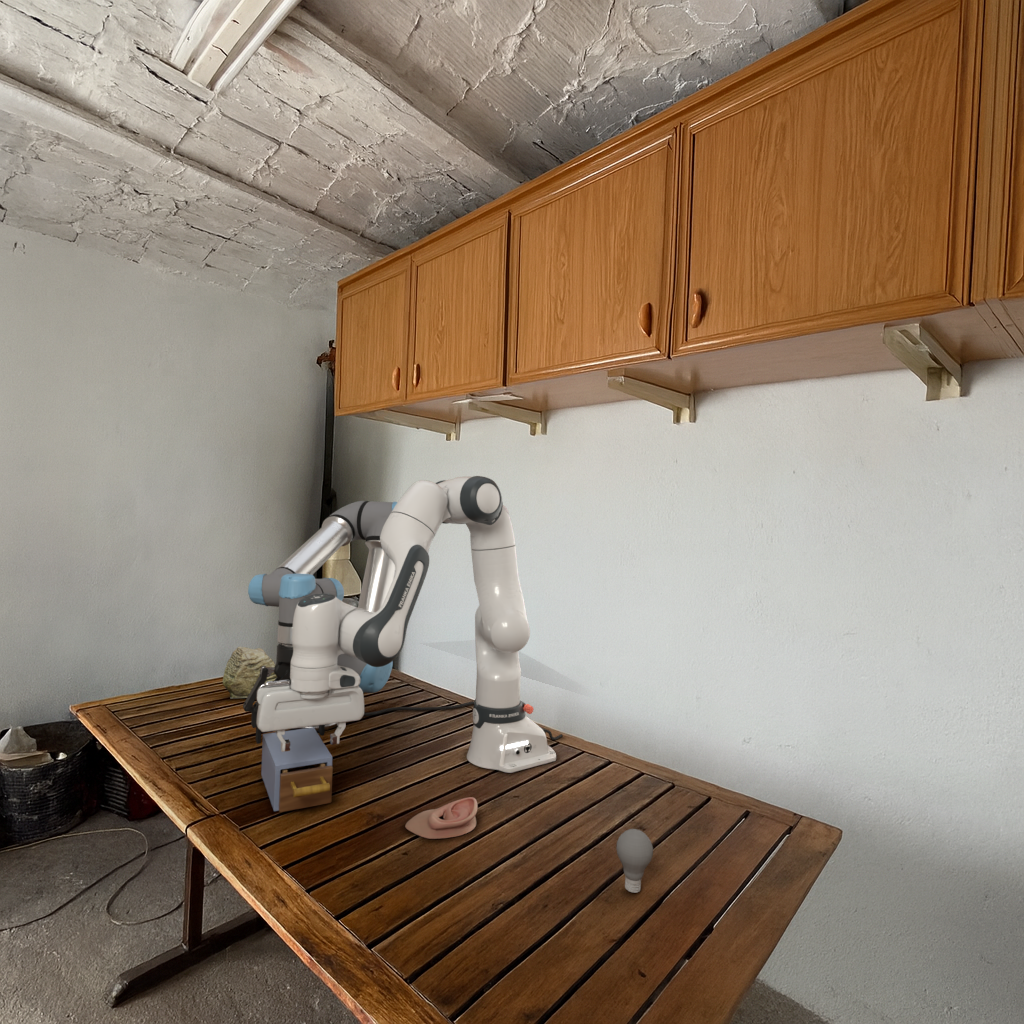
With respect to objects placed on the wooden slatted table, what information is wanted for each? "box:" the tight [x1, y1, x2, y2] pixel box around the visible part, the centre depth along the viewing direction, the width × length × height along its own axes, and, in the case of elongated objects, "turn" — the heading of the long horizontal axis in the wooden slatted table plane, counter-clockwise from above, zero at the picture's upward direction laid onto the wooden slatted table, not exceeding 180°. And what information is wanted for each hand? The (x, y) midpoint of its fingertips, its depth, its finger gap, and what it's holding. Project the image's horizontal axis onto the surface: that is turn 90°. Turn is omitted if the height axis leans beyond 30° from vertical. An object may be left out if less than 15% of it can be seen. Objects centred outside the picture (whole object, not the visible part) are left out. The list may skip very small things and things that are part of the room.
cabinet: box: [260, 727, 333, 812], centre depth 137 cm, size 18×11×9 cm, turn 29°
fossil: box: [222, 646, 277, 699], centre depth 198 cm, size 9×18×15 cm, turn 132°
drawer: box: [278, 763, 334, 813], centre depth 132 cm, size 22×10×7 cm, turn 29°
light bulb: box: [615, 828, 654, 894], centre depth 106 cm, size 6×6×10 cm
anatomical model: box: [404, 796, 479, 840], centre depth 124 cm, size 13×4×12 cm
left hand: (290, 737), depth 142 cm, fingers open, 13 cm apart
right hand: (310, 747), depth 125 cm, fingers open, 8 cm apart
